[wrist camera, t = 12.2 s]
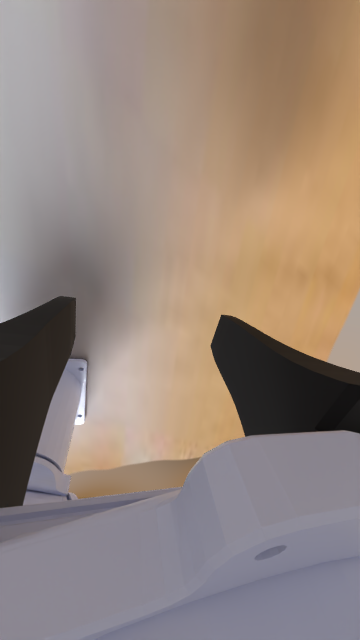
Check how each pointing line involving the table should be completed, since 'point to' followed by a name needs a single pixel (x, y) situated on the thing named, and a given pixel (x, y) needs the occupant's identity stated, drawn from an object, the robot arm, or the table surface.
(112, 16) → the table surface
